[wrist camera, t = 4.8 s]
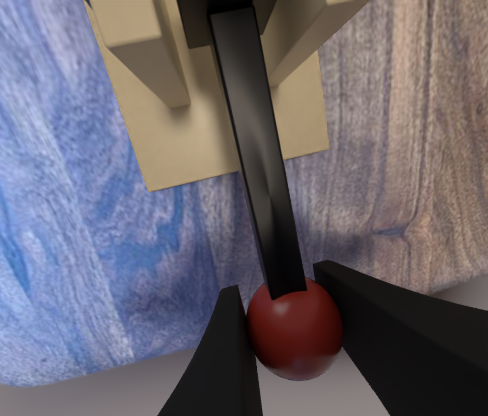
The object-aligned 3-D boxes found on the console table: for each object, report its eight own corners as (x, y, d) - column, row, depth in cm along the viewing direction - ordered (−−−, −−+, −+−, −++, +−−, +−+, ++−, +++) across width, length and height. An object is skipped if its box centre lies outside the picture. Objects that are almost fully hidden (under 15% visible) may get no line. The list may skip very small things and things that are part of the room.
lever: (323, 318, 10) (370, 389, 7) (250, 340, 9) (267, 422, 6) (254, -75, 7) (286, -257, 4) (146, -57, 6) (90, -236, 3)
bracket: (319, 149, 13) (469, 150, 5) (153, 188, 12) (64, 252, 5) (284, -116, 10) (505, -903, 3) (64, -82, 9) (-528, -1016, 2)
